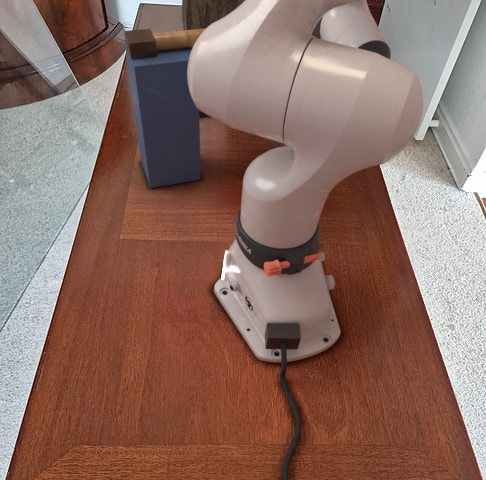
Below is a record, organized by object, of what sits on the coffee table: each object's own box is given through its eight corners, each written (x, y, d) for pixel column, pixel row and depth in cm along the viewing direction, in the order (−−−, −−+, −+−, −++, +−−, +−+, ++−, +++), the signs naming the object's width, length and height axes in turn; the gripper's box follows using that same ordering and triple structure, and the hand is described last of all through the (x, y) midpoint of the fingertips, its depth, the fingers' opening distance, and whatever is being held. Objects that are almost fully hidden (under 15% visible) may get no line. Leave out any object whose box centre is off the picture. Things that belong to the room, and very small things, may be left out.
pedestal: (200, 179, 91) (198, 59, 71) (150, 188, 88) (134, 66, 69) (190, 154, 95) (185, 34, 76) (141, 162, 93) (124, 40, 73)
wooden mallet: (235, 35, 76) (235, 20, 75) (242, 47, 74) (243, 31, 72) (126, 46, 72) (124, 30, 70) (131, 59, 70) (129, 43, 68)
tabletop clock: (239, 48, 122) (245, -66, 102) (240, 66, 117) (247, -50, 97) (184, 46, 121) (180, -70, 101) (183, 64, 116) (178, -54, 96)
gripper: (283, 31, 87) (224, -4, 79) (329, 89, 76) (266, 55, 68) (264, 61, 91) (206, 31, 83) (306, 121, 80) (243, 92, 72)
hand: (233, 42), depth 75 cm, fingers open, 8 cm apart
